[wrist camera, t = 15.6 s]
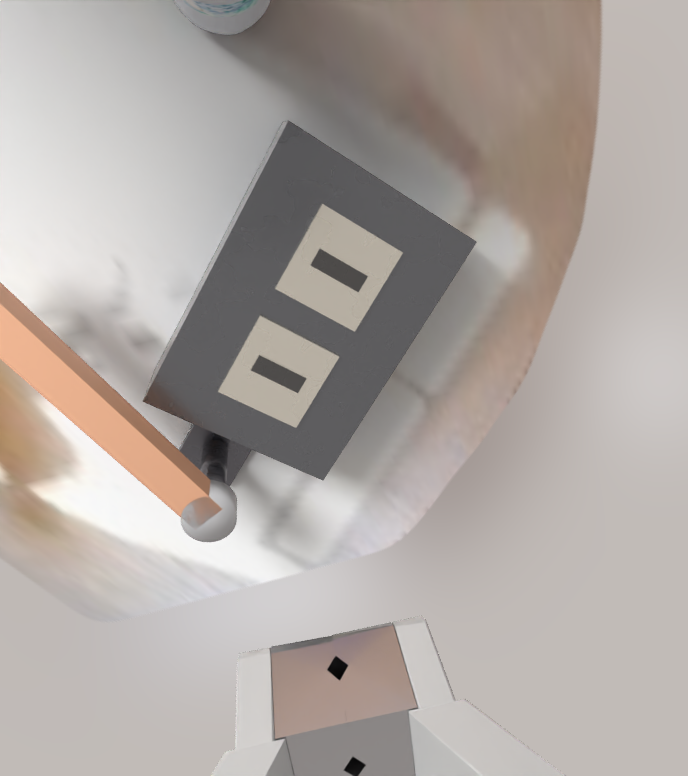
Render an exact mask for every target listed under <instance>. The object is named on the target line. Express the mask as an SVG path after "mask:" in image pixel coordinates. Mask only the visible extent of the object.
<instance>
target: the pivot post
mask: <svg viewBox="0 0 688 776" xmlns="http://www.w3.org/2000/svg"><path fill="white" fill-rule="evenodd" d="M179 451H180V452H181V453H182V454H183V455H184V456H185V457H186V458H187V459H189V460H190V461H191V462H192V463H193V464H194V465H195V466H196V467H197V468H198V469H199V470H200V471H201V472H202V473H203V474H205V475H206V476H207V477H208V478H209V479H210V480H215V481H220V482H223V483H225V484H226V485H228V486H229V487H230V485H231V483H232V481H233V480H234V478H235V476H236V475H237V473H238V471H239V470H240V468H241V466H242V465H243V463H244V461H245V460H246V458H247V456H248V454H249V453H250V451H251V449H250V448H248V447H246V446H243V445H241V444H239V443H236V442H234V441H232V440H230V439H227V438H225V437H223V436H220V435H218V434H216V433H214V432H211V431H209V430H207V429H204V428H202V427H200V426H198V425H195V424H193V425H192V427H191V429H190V431H189V432H188V434H187V436H186V438H185V440H184V441H183V443H182V445H181V447H180V449H179Z"/></svg>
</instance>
